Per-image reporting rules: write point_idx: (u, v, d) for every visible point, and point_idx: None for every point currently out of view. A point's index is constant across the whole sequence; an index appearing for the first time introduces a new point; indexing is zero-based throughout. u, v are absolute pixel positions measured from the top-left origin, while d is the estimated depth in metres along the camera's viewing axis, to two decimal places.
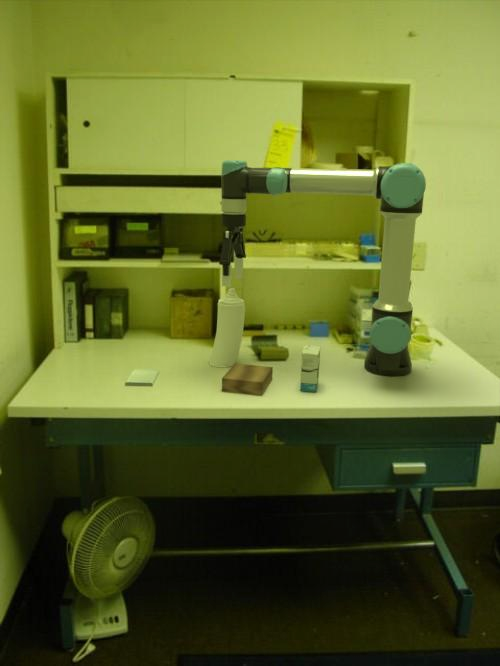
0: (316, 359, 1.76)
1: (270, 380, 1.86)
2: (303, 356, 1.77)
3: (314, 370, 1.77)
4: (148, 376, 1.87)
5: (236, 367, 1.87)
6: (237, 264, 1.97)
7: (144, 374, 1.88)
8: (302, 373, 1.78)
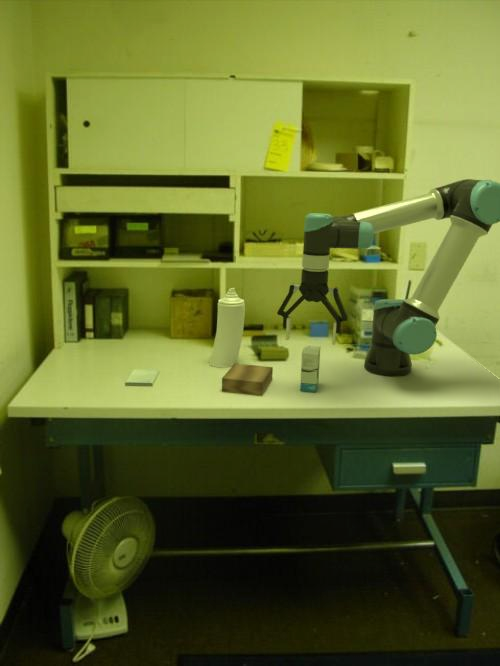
0: (316, 359, 1.76)
1: (270, 380, 1.86)
2: (303, 356, 1.77)
3: (314, 370, 1.77)
4: (148, 376, 1.86)
5: (236, 367, 1.87)
6: None
7: (144, 374, 1.88)
8: (302, 373, 1.78)
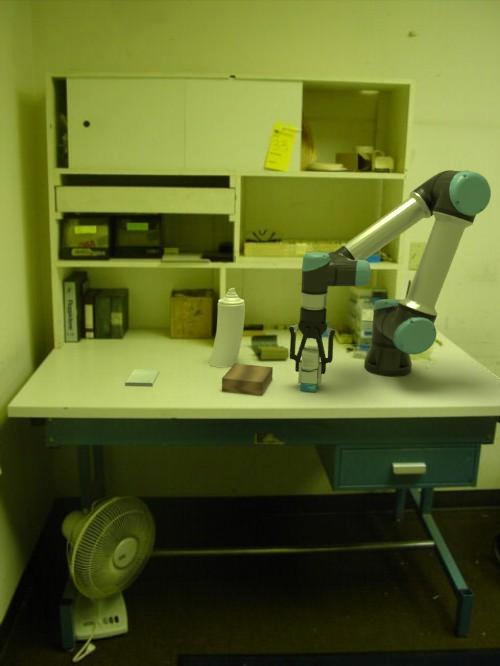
0: (316, 359, 1.76)
1: (270, 380, 1.86)
2: (303, 356, 1.77)
3: (314, 370, 1.77)
4: (148, 376, 1.86)
5: (236, 367, 1.87)
6: None
7: (144, 374, 1.88)
8: (302, 373, 1.78)
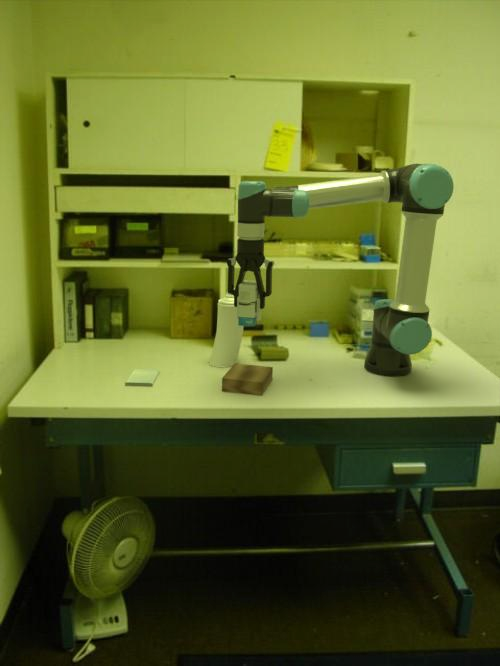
0: (253, 291, 1.71)
1: (270, 380, 1.86)
2: (240, 288, 1.72)
3: (252, 304, 1.72)
4: (148, 376, 1.86)
5: (236, 367, 1.87)
6: None
7: (144, 374, 1.88)
8: (239, 306, 1.73)
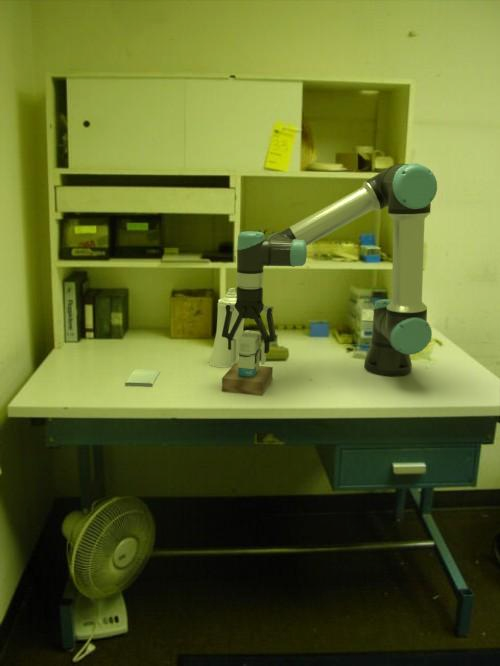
0: (253, 344, 1.75)
1: (270, 380, 1.86)
2: (240, 341, 1.76)
3: (251, 355, 1.76)
4: (148, 376, 1.86)
5: (236, 367, 1.87)
6: None
7: (144, 374, 1.88)
8: (239, 357, 1.77)
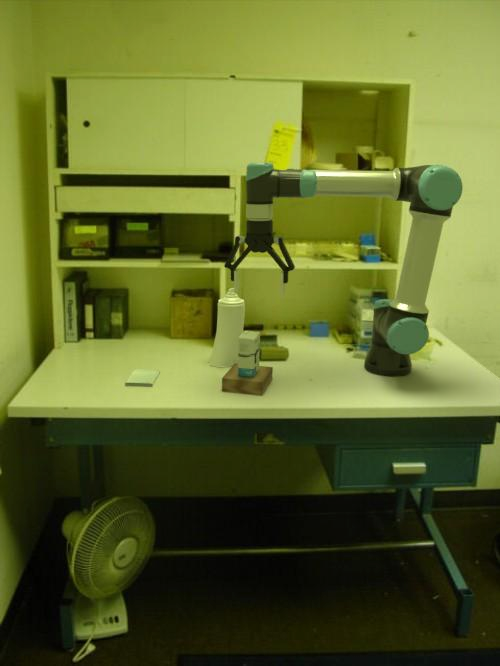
0: (252, 344, 1.75)
1: (270, 380, 1.86)
2: (239, 341, 1.76)
3: (251, 355, 1.76)
4: (148, 376, 1.86)
5: (236, 367, 1.87)
6: None
7: (144, 374, 1.88)
8: (239, 358, 1.77)
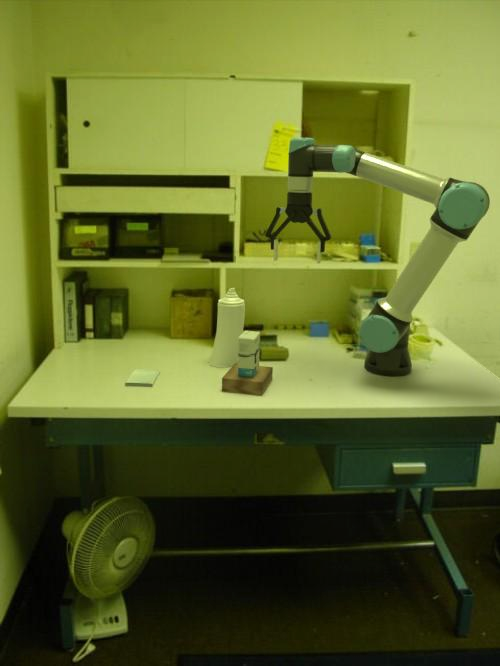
0: (252, 344, 1.75)
1: (270, 380, 1.86)
2: (239, 341, 1.76)
3: (251, 355, 1.76)
4: (148, 376, 1.86)
5: (236, 367, 1.87)
6: None
7: (144, 374, 1.88)
8: (239, 358, 1.77)
